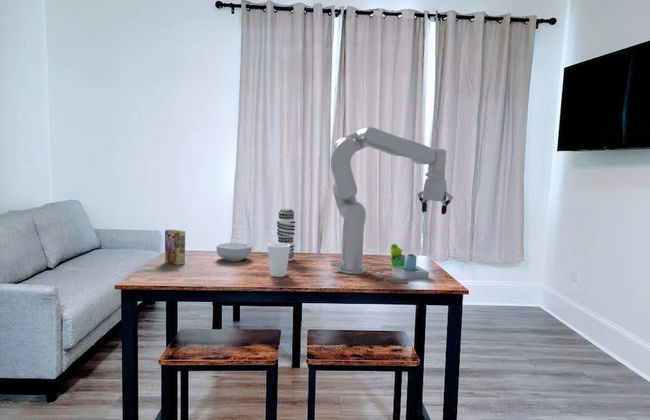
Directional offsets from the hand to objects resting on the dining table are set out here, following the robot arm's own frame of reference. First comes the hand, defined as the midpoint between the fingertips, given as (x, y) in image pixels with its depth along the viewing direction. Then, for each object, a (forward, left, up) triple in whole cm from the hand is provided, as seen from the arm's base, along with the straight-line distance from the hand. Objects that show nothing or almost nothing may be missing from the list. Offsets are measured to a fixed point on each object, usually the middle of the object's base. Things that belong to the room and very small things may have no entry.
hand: (433, 213), depth 202 cm
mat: (-25, -16, -27) cm, 40 cm away
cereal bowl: (-88, +34, -27) cm, 98 cm away
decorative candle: (-63, +32, -27) cm, 76 cm away
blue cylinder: (-15, -8, -27) cm, 32 cm away
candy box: (-115, +30, -27) cm, 122 cm away
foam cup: (-72, +2, -27) cm, 77 cm away
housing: (-15, -8, -27) cm, 32 cm away
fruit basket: (-13, +7, -27) cm, 31 cm away
